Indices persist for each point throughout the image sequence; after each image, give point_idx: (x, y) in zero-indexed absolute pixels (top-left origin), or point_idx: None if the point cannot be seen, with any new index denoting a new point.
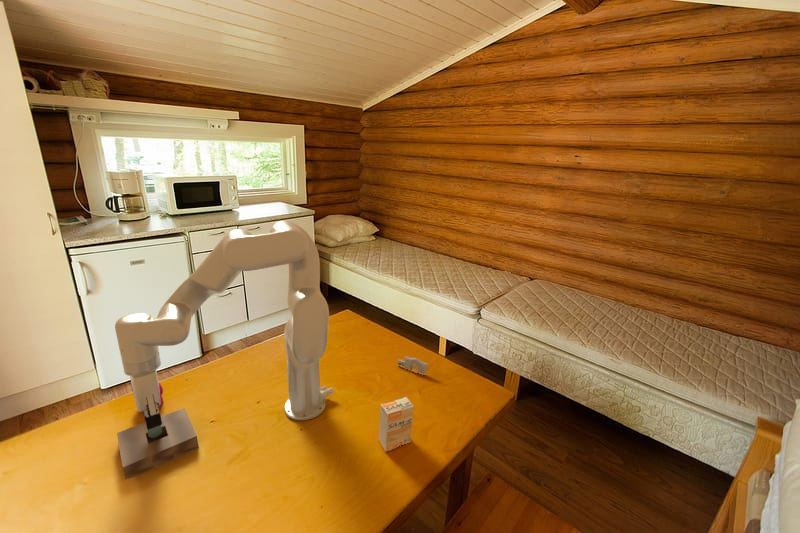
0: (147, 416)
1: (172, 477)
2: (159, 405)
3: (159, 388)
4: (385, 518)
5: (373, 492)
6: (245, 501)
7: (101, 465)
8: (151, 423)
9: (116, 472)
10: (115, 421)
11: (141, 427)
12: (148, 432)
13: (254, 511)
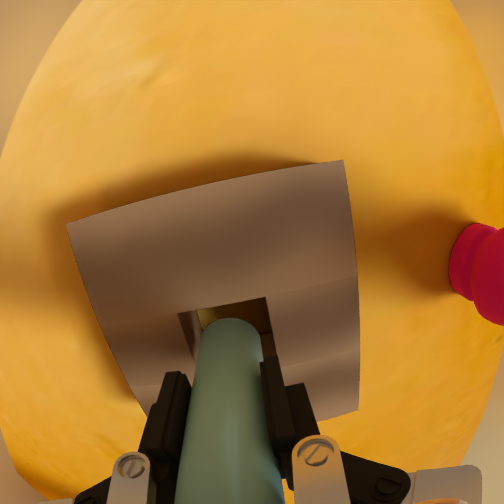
0: (118, 470)
1: (75, 341)
2: (455, 289)
3: (502, 324)
4: (24, 479)
5: (48, 491)
6: (23, 421)
7: (219, 111)
8: (148, 423)
9: (150, 173)
10: (453, 149)
11: (327, 272)
12: (210, 338)
13: (12, 421)
